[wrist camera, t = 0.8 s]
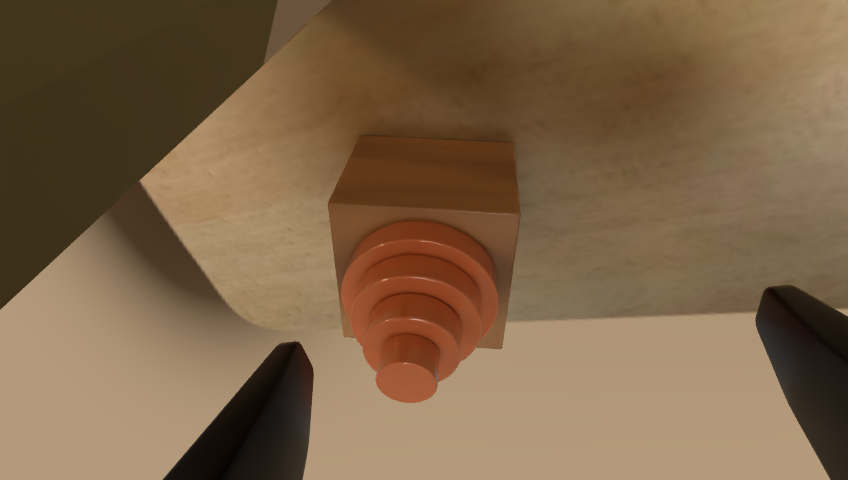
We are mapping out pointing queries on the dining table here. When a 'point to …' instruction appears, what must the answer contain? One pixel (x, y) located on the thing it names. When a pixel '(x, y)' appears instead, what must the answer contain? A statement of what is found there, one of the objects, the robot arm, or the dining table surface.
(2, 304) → the bottle
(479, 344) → the stand
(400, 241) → the cone
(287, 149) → the dining table surface
